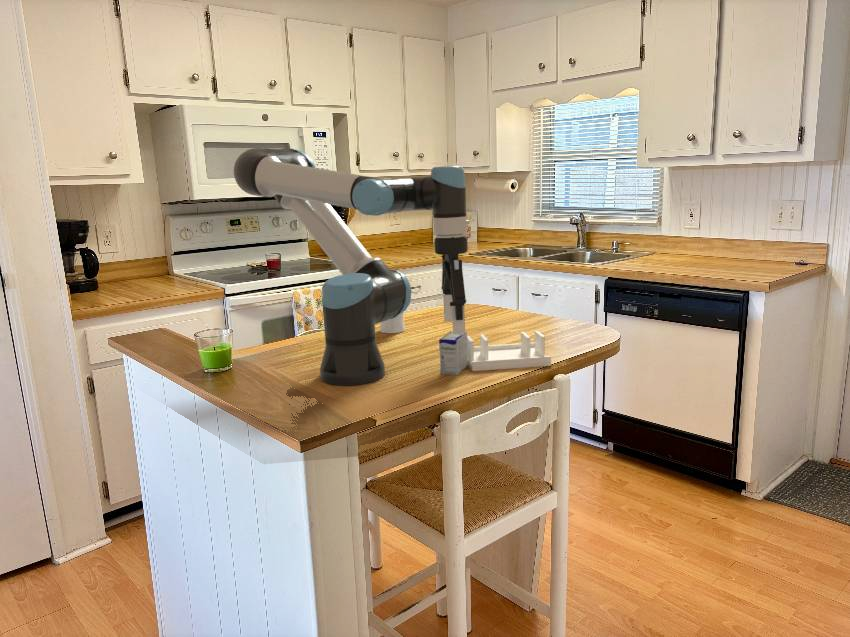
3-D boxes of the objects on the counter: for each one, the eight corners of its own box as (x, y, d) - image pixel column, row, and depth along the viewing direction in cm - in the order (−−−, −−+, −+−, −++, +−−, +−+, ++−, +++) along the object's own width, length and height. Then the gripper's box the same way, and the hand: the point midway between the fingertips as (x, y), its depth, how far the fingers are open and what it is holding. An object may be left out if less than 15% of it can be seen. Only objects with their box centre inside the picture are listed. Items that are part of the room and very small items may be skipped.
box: (450, 364, 156) (449, 330, 154) (468, 366, 154) (467, 331, 152) (439, 374, 149) (438, 338, 147) (458, 375, 147) (457, 339, 145)
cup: (416, 328, 194) (414, 279, 191) (396, 336, 186) (394, 285, 182) (388, 325, 200) (386, 278, 197) (367, 332, 191) (364, 283, 188)
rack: (472, 371, 150) (471, 345, 148) (462, 355, 163) (461, 331, 162) (550, 365, 152) (551, 340, 150) (534, 350, 165) (534, 327, 164)
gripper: (477, 239, 133) (480, 338, 137) (458, 231, 157) (461, 315, 161) (441, 241, 132) (446, 340, 136) (427, 232, 156) (432, 317, 161)
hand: (454, 327), depth 149 cm, fingers open, 13 cm apart
